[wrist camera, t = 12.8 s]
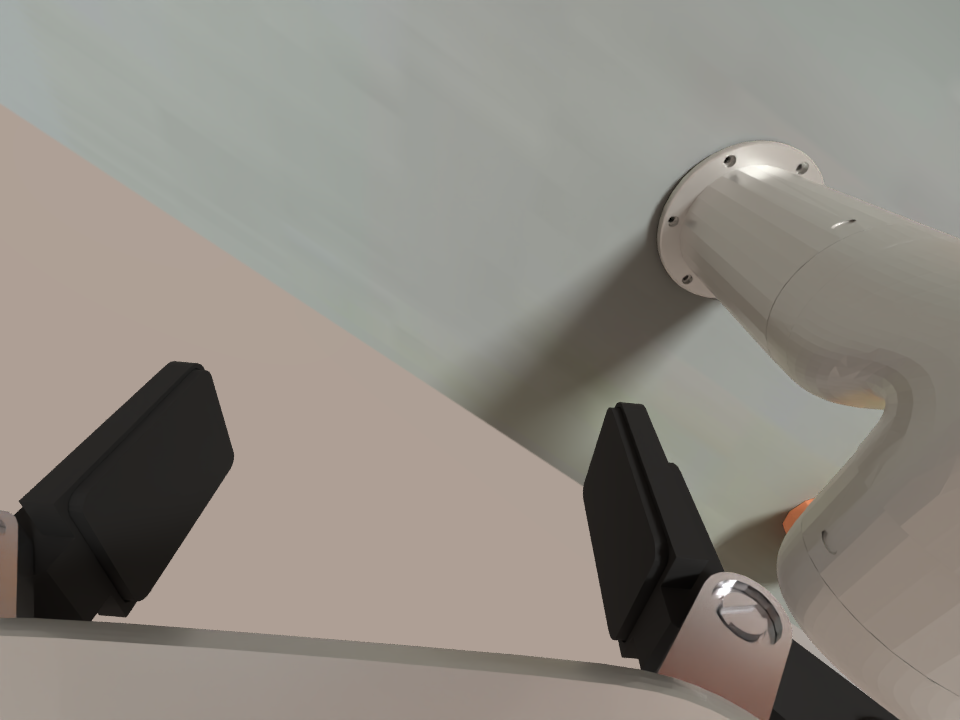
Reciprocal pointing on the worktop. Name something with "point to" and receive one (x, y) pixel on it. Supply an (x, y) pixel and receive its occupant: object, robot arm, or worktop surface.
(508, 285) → the worktop surface
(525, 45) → the worktop surface
